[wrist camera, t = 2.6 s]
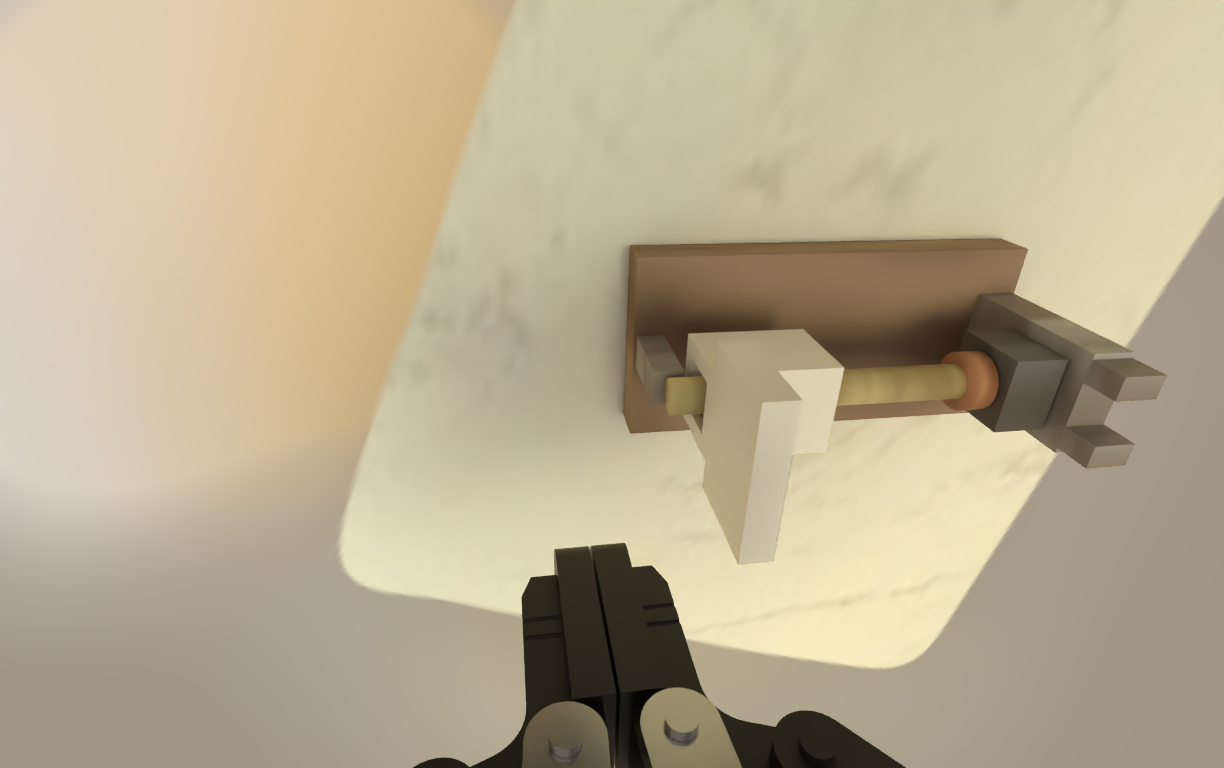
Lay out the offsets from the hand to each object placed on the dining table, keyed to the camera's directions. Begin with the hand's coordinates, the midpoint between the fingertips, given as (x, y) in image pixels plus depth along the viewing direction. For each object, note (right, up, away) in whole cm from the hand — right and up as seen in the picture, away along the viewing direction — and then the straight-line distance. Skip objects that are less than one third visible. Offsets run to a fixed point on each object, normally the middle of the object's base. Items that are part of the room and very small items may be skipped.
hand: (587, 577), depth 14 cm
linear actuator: (+8, +6, +12) cm, 16 cm away
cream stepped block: (+5, +5, +9) cm, 11 cm away
